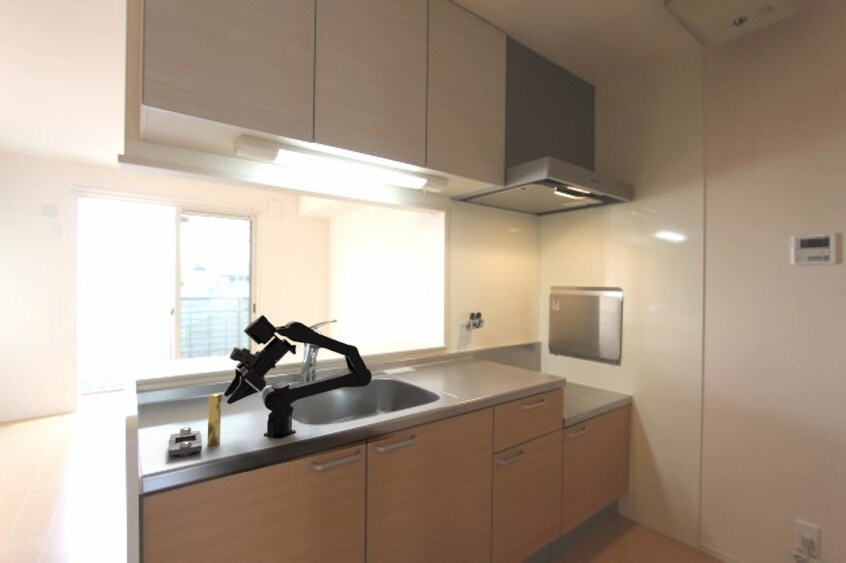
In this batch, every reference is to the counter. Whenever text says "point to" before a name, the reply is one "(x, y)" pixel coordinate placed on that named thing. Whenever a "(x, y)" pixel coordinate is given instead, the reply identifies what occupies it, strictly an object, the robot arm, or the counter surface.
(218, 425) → the pin
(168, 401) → the counter surface
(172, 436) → the grey slotted block
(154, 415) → the counter surface
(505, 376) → the counter surface
